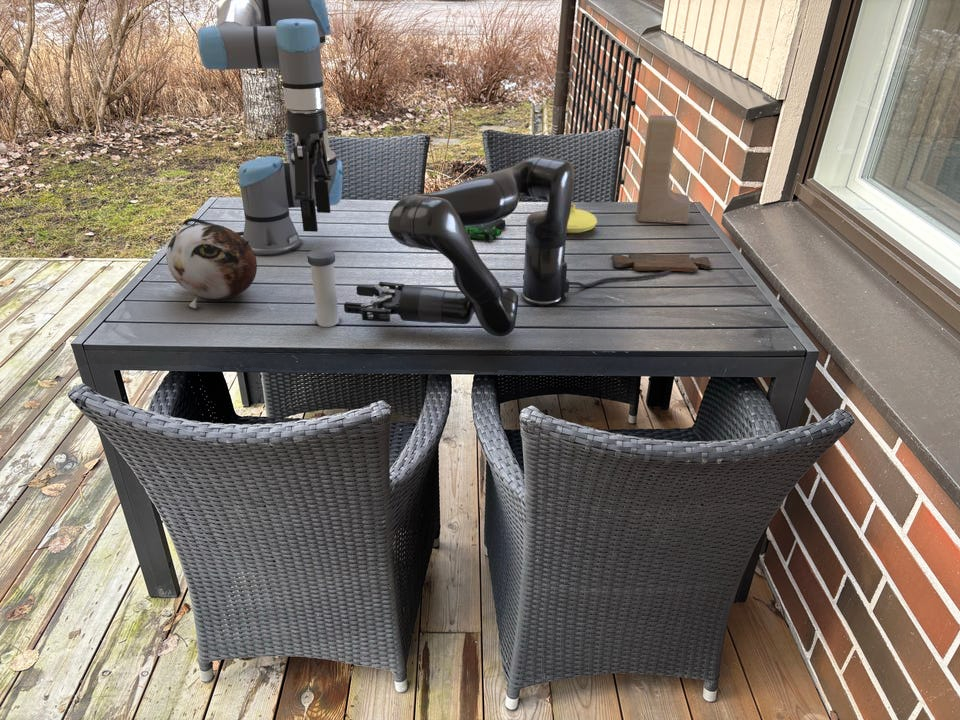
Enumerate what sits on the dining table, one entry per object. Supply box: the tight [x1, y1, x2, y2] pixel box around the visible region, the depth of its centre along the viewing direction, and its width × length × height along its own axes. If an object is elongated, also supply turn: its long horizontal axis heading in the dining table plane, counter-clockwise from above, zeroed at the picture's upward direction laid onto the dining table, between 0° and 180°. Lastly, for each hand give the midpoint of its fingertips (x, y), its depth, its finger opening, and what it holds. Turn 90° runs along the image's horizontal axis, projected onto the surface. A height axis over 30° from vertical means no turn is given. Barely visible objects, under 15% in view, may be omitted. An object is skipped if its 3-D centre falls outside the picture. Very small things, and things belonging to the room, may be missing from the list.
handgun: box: [465, 218, 506, 242], centre depth 207 cm, size 16×3×15 cm
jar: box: [310, 263, 340, 328], centre depth 155 cm, size 5×5×16 cm
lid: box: [307, 248, 336, 266], centre depth 151 cm, size 6×6×2 cm
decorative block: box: [635, 114, 692, 225], centre depth 212 cm, size 8×15×30 cm, turn 82°
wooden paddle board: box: [611, 252, 711, 273], centre depth 188 cm, size 26×2×10 cm
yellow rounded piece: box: [566, 203, 598, 234], centre depth 209 cm, size 16×16×7 cm
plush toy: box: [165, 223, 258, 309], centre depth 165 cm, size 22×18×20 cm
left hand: (317, 221), depth 147 cm, fingers open, 10 cm apart
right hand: (350, 298), depth 155 cm, fingers open, 8 cm apart
